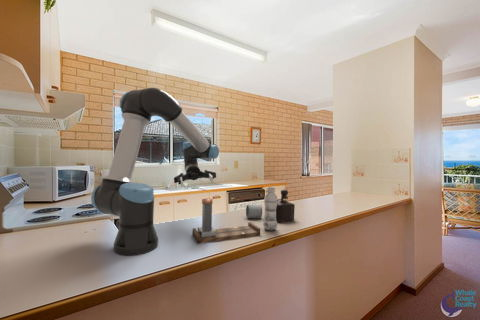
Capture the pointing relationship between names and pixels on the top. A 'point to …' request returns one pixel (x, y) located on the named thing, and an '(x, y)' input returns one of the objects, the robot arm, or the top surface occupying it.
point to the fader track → (228, 233)
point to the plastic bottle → (270, 209)
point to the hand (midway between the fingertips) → (197, 181)
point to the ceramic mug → (253, 211)
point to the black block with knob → (284, 208)
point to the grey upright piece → (207, 219)
